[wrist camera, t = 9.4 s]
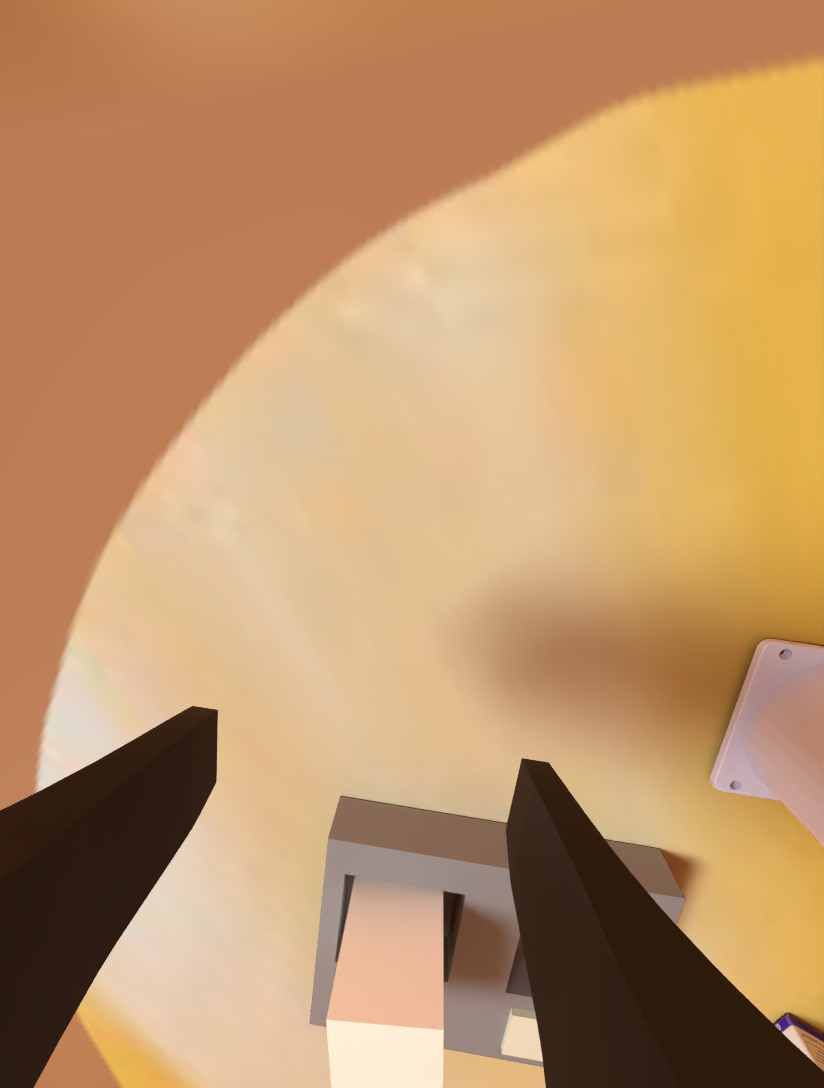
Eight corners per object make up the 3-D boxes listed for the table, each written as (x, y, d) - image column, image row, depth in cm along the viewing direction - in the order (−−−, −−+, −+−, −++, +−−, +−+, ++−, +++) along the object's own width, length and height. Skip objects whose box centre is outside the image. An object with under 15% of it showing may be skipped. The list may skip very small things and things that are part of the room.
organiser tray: (659, 848, 22) (689, 905, 20) (600, 1019, 25) (619, 1089, 23) (340, 796, 23) (326, 844, 20) (321, 969, 26) (307, 1031, 23)
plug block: (443, 854, 23) (443, 1030, 16) (442, 918, 24) (442, 1108, 17) (360, 849, 23) (326, 1019, 16) (362, 913, 24) (331, 1097, 17)
